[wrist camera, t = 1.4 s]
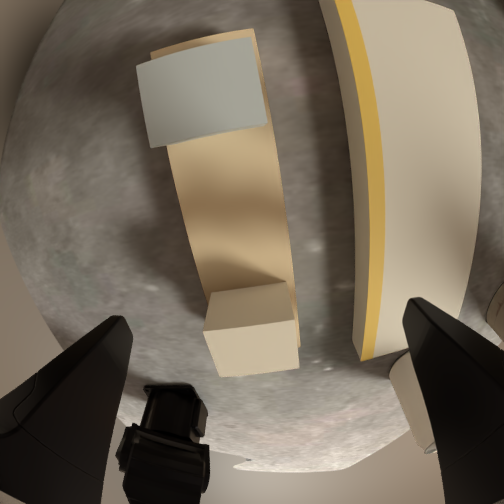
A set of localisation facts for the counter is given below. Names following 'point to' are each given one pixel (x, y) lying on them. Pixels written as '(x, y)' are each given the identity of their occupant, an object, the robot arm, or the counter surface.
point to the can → (412, 402)
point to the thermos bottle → (497, 313)
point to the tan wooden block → (234, 199)
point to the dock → (406, 159)
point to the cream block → (252, 330)
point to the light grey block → (201, 92)
